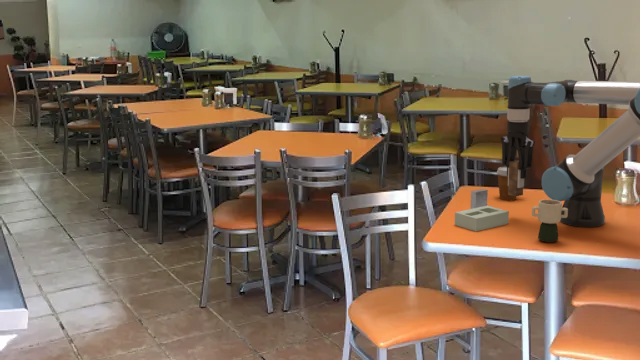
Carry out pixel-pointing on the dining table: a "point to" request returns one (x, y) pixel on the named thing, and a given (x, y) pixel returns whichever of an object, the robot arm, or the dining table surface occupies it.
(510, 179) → the walnut peg
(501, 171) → the disposable coffee cup
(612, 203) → the dining table surface
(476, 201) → the grey upright tile
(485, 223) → the socket block
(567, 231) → the dining table surface
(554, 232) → the character mug
